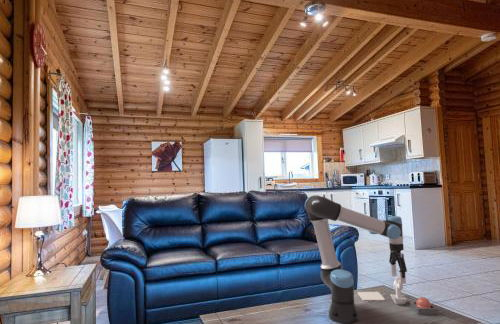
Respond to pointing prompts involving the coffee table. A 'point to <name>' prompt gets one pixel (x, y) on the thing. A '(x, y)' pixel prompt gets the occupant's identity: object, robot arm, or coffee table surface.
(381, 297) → the game square
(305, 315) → the coffee table surface
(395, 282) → the white faucet
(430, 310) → the housing
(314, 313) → the coffee table surface
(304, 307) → the coffee table surface
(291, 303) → the coffee table surface
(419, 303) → the pink ball
